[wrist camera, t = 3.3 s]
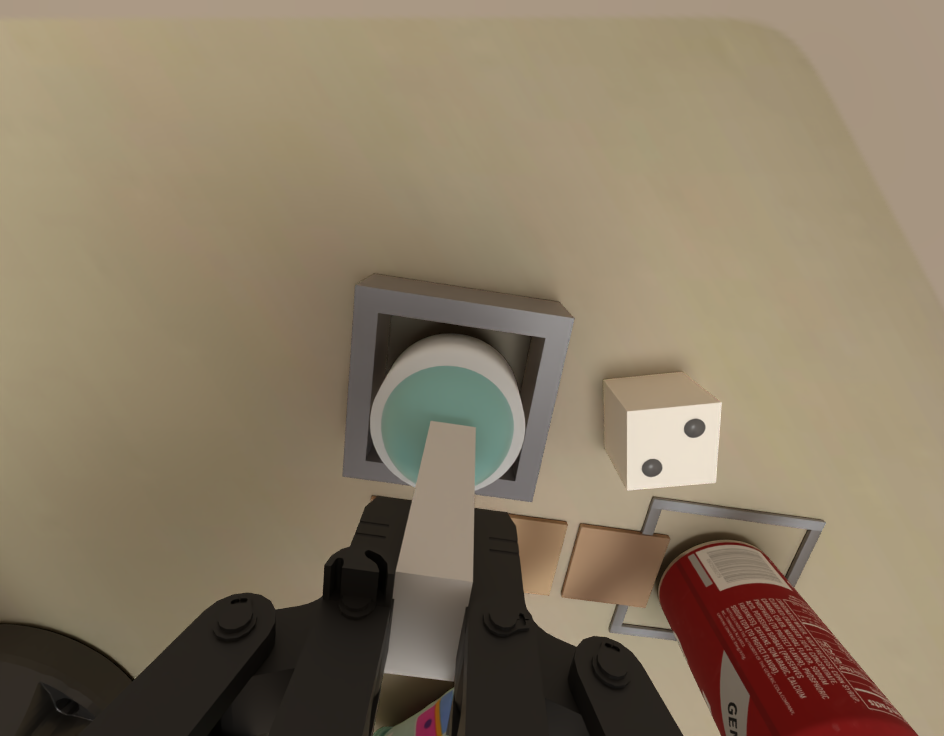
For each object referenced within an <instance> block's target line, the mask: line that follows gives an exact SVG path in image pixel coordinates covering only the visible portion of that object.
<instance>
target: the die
mask: <svg viewBox="0 0 944 736" xmlns="http://www.w3.org/2000/svg"><path fill="white" fill-rule="evenodd" d="M603 399H604V449H605V450H606V452H607V454H608V456H609V458H610V460H611V462H612V463H613V465H614V467H615V469H616V471H617V473H618V475H619V476H620V478H621V480H622V482H623V484H624V486H625V488H626V490H627V491H628V490H639V489H651V488H662V487H673V486H684V485H696V484H707V483H716V473H717V459H718V446H719V432H720V419H721V405H722V402H721V401H719V400H718V399H717V398H715V397H714V396H713V395H712V394H710V393H709V392H708V391H707V390H705V389H704V388H703V387H701V386H700V385H699V384H698V383H696V382H695V381H694V380H692V379H691V378H690V377H689V376H687V375H686V374H685V373H684V372H673V373H663V374H653V375H643V376H633V377H623V378H613V379H603Z"/></svg>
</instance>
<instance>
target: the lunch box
mask: <svg viewBox="0 0 944 736" xmlns="http://www.w3.org/2000/svg"><path fill="white" fill-rule="evenodd" d="M453 695H454V688H452V689H450V690H449V691H448V692H446V693H445V694H444V695H443V696H442V697H440V698H439V699H437V700H436V701H434V702H432V703H431V704H429V705H428V706H427V707H425V708H424V709H423V710H421V711H420V712H418V713H416V714H415V715H413V716H411V717H410V718H408V719H407V720H405V721H404V722H402V723H400V724H398V725H396V726H394V727H390V726H389V727H382V728H380V729H378V730H377V731H376V732H375V733H374V734H373V736H448V735H446V730H447V725H448V720H449V715H450V710H451V705H452V700H453Z"/></svg>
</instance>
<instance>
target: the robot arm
mask: <svg viewBox="0 0 944 736" xmlns="http://www.w3.org/2000/svg"><path fill="white" fill-rule="evenodd" d="M475 443H476V427H471V426H464V425H457V424H450V423H443V422H436V421H431V422H430V426H429V430H428V435H427V439H426V443H425V447H424V452H423V456H422V460H421V465H420V469H419V473H418V478H417V482H416V486H415V490H414V495H413V499H412V501H410V500H403V499H396V498H388V497H381V496H377V497H376V498H375V499H374V500H373V501H371V502H370V503H369V504H368V505H367V506H366V507H365V509H364V512H363V514H362V517H361V519H360V523H359V525H358V527H357V530H356V532H355V535H354V538H353V540H352V543H351V545H350V547H347V548H344V549H341V550H340V551H338V552H336V553H335V554H333V555H332V556H331V557H330V558H329V560H328V561H327V562H326V564H325V565H324V583H323V596H322V597H321V598H319V599H318V600H315V601H313V602H311V603H309V604H305V605H301V606H297V607H290V608H283V609H277V610H275V608H274V606H273V604H272V602H271V601H270V600H268V599H267V598H265V597H264V596H262V595H259V594H253V593H242V594H234V595H231V596H228V597H226V598H224V599H221V600H219V601H217V602H215V603H214V604H213V605H211V606H210V607H209V608H207V609H206V610H205V611H204V612H203V613H202V614H201V615H200V616H199V617H198V618H197V619H196V620H194V621H193V622H192V623H191V624H190V625H189V626H188V627H187V628H186V629H185V630H184V631H183V632H182V633H181V634H180V635H179V636H178V637H177V638H176V639H175V640H174V641H173V642H172V643H171V644H170V645H169V646H168V647H167V648H166V649H165V650H164V651H163V652H162V653H161V654H160V655H159V656H158V657H157V658H156V659H155V660H154V661H153V662H152V663H151V664H150V665H149V666H148V667H147V668H146V669H145V670H144V671H143V672H142V673H141V674H140V675H139V676H138V677H137V678H136V679H135V680H134V681H133V682H132V681H131V680H130V679H129V678H128V677H127V675H126V674H125V673H124V672H122V671H121V670H120V669H119V668H118V667H117V666H116V665H114V664H113V663H112V662H111V661H109V660H108V659H107V658H105V657H104V656H102V655H101V654H99V653H98V652H96V651H94V650H92V649H91V648H89V647H87V646H85V645H83V644H81V643H79V642H77V641H75V640H72V639H70V638H67V637H65V636H62V635H59V634H56V633H53V632H50V631H46V630H42V629H38V628H33V627H28V626H21V625H9V624H0V736H372V735H373V730H374V725H375V720H376V715H377V710H378V705H379V700H380V692H381V683H382V679H383V674H384V673H389V674H397V675H405V676H413V677H421V678H429V679H437V680H445V681H453V682H454V677H455V685H454V695H453V700H452V705H451V710H450V715H449V720H448V725H447V730H446V735H448V736H683V734H682V733H681V731H680V729H679V727H678V726H677V724H676V722H675V721H674V719H673V717H672V715H671V714H670V712H669V710H668V709H667V707H666V705H665V703H664V702H663V700H662V698H661V697H660V695H659V693H658V692H657V690H656V688H655V686H654V685H653V683H652V681H651V680H650V678H649V676H648V674H647V673H646V671H645V669H644V668H643V666H642V664H641V663H640V662H639V661H638V659H637V658H636V657H635V655H634V654H633V653H632V652H631V651H630V650H628V649H627V648H626V647H624V646H623V645H622V644H621V643H619V642H616V641H614V640H612V639H609V638H607V637H598V636H593V637H589V638H586V639H583V640H582V641H581V643H580V644H579V645H578V646H577V647H575V646H573V645H571V644H569V643H566V642H564V641H562V640H559V639H557V638H555V637H553V636H551V635H550V634H548V633H546V632H545V631H544V630H542V629H541V628H540V627H539V626H538V625H537V624H536V623H535V622H534V621H533V618H532V615H531V614H530V613H529V611H528V610H527V608H526V604H525V599H524V590H523V581H522V572H521V564H520V556H519V546H518V537H517V529H516V525H515V524H514V522H513V521H512V519H511V518H510V516H509V514H508V513H507V512H500V511H492V510H485V509H478V508H474V496H475Z"/></svg>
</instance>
